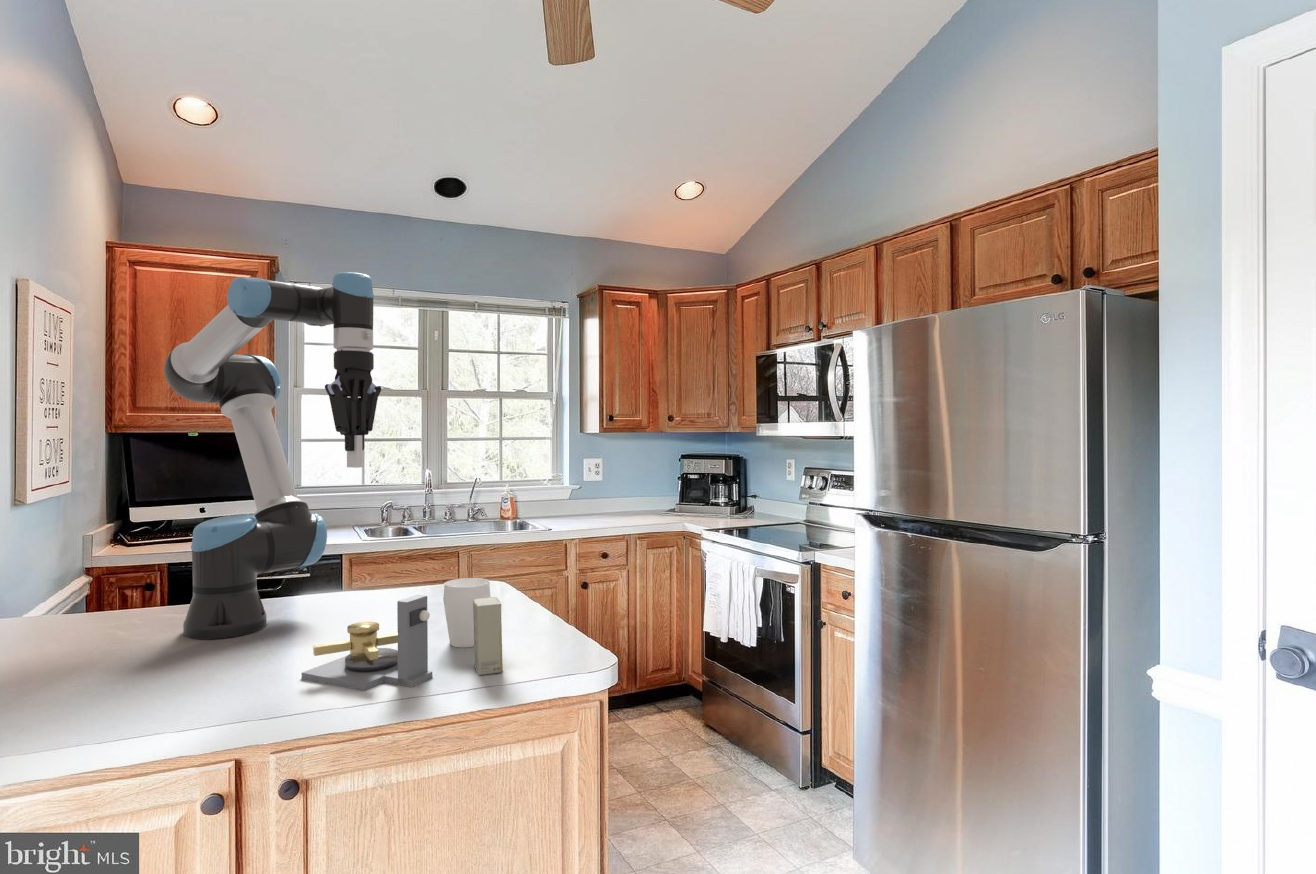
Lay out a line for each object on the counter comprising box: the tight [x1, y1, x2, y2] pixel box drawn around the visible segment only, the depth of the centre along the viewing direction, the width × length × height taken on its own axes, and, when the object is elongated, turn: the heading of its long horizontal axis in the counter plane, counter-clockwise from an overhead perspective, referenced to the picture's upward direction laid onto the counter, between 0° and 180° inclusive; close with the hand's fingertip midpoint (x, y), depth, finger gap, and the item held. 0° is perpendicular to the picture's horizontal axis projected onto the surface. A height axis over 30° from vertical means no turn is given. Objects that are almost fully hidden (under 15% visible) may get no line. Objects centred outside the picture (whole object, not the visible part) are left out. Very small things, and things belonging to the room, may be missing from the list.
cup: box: [442, 577, 491, 649], centre depth 149 cm, size 9×9×12 cm
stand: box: [301, 594, 433, 692], centre depth 131 cm, size 20×14×14 cm
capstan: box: [312, 621, 398, 671], centre depth 132 cm, size 17×16×7 cm
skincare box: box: [473, 596, 504, 676], centre depth 134 cm, size 6×4×12 cm
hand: (354, 467), depth 153 cm, fingers closed
